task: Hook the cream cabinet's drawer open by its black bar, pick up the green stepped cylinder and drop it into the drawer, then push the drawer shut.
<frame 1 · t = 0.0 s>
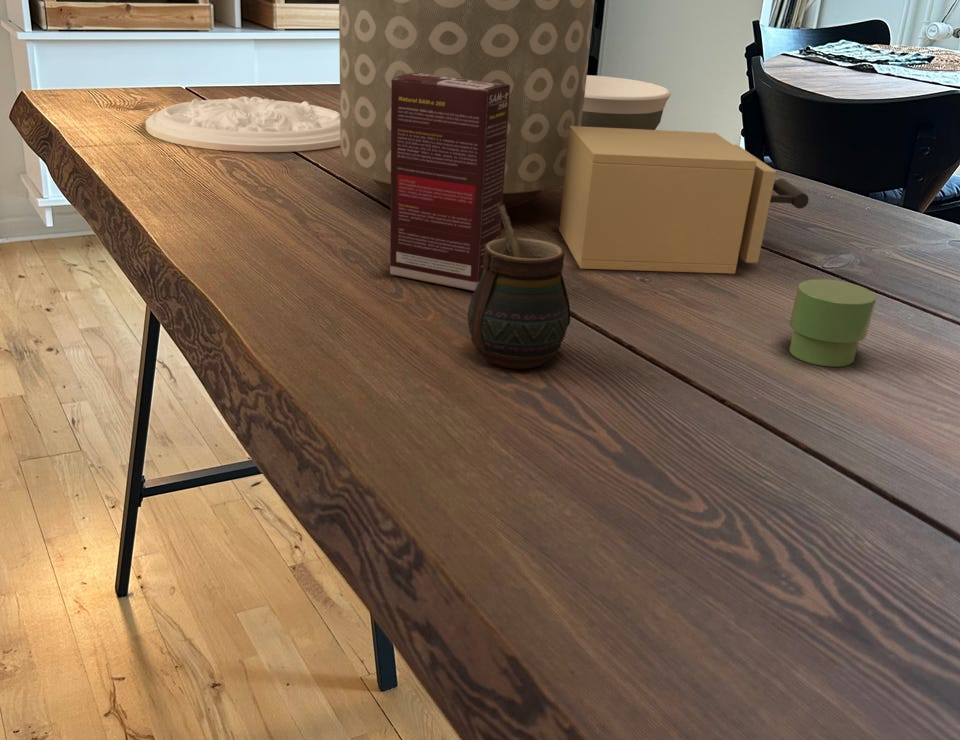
mate gourd: (512, 359, 74), on the table
bowl: (593, 151, 141), on the table
planter: (457, 204, 112), on the table
ceiling medallion: (254, 131, 139), on the table
supplement box: (443, 279, 89), on the table
green stepped cylinder: (821, 354, 78), on the table
cabinet: (643, 251, 100), on the table
drawer: (703, 200, 98), point 5 cm above the table, slide at 1.0 cm
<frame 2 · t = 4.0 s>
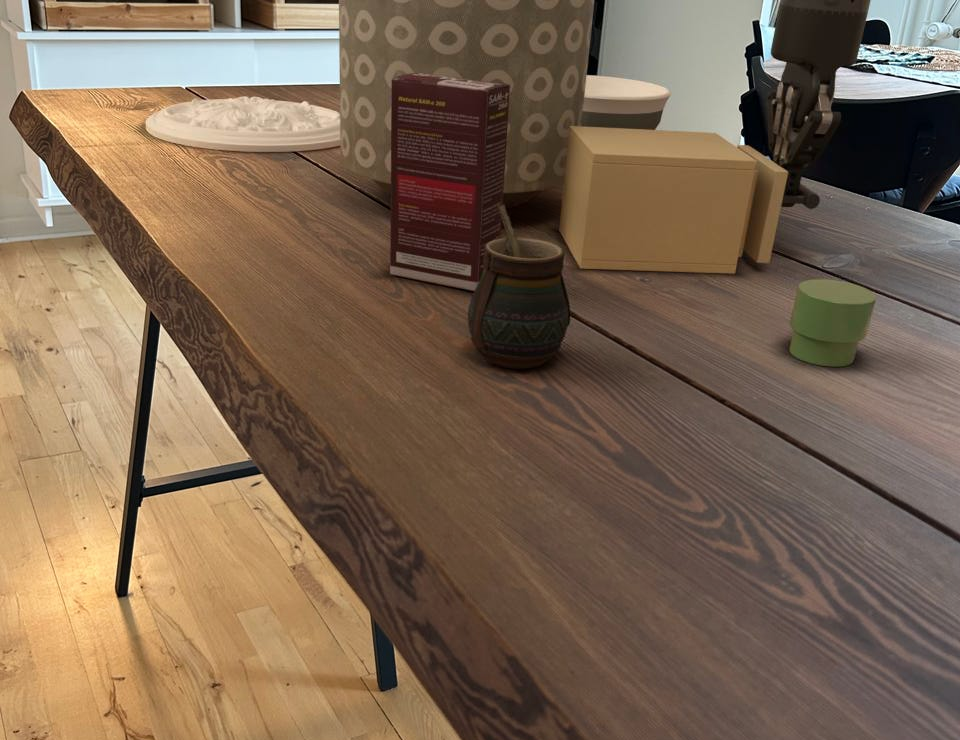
hand: (780, 204, 98), 5 cm above the table, tool pointing down, fingers closed
drawer: (714, 200, 98), point 5 cm above the table, slide at 2.1 cm, touching gripper
everything else where it was.
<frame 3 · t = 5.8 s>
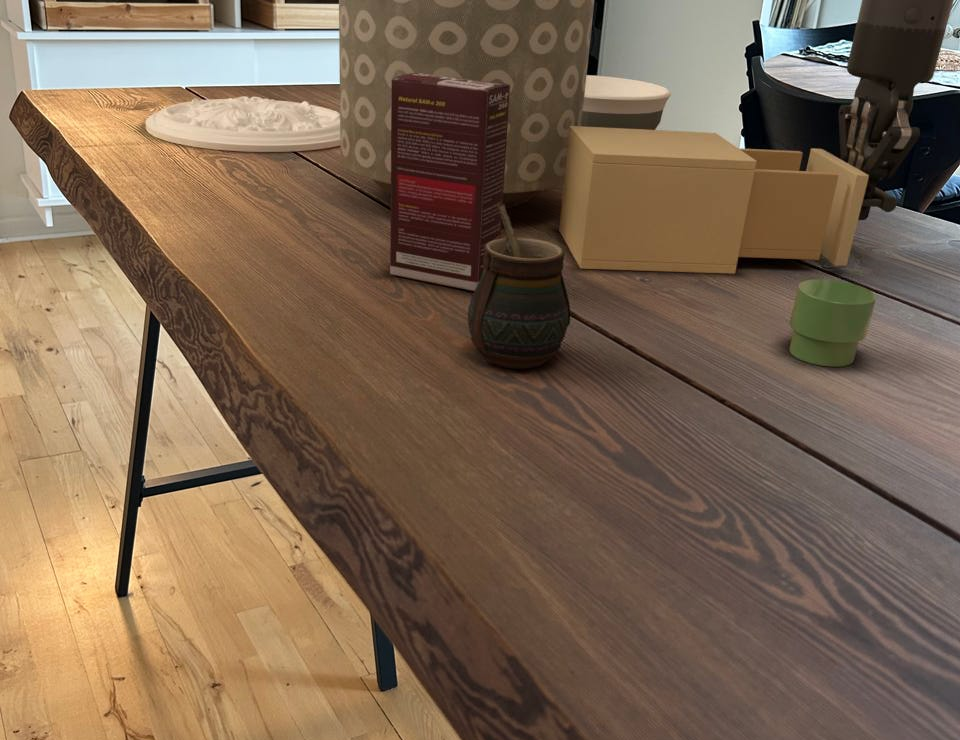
hand: (853, 217, 100), 4 cm above the table, tool pointing down, fingers closed
drawer: (790, 204, 99), point 5 cm above the table, slide at 9.6 cm
everything else where it was.
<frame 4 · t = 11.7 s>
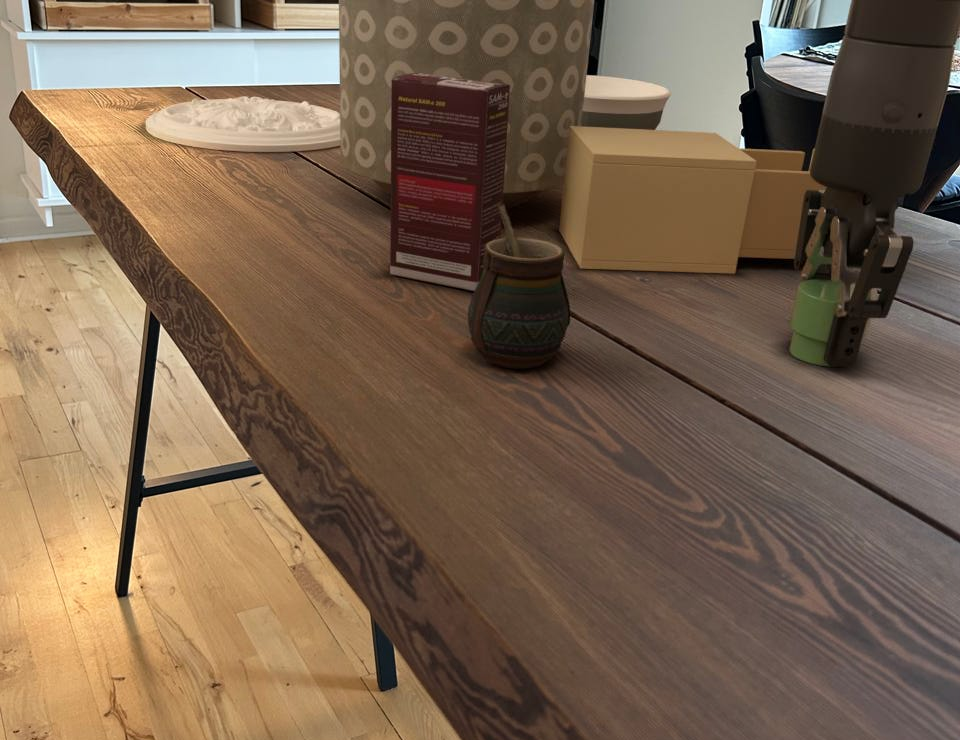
hand: (822, 347, 78), 1 cm above the table, tool pointing down, fingers closed on green stepped cylinder, 5 cm apart
green stepped cylinder: (821, 354, 78), on the table, touching gripper
everything else where it was.
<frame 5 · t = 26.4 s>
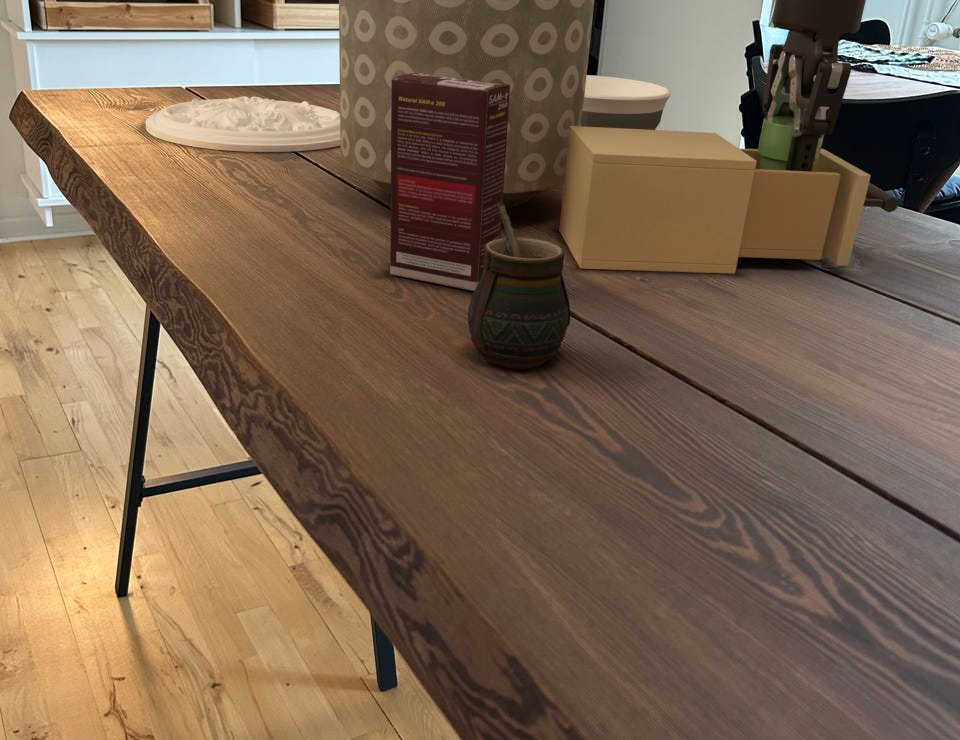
hand: (785, 171, 97), 8 cm above the table, tool pointing down, fingers closed on green stepped cylinder, 5 cm apart
green stepped cylinder: (783, 177, 97), point 7 cm above the table, touching gripper
everything else where it was.
when the fingers open (10 cm above the table, at t = 33.1 s): green stepped cylinder drops 8 cm, resting on drawer.
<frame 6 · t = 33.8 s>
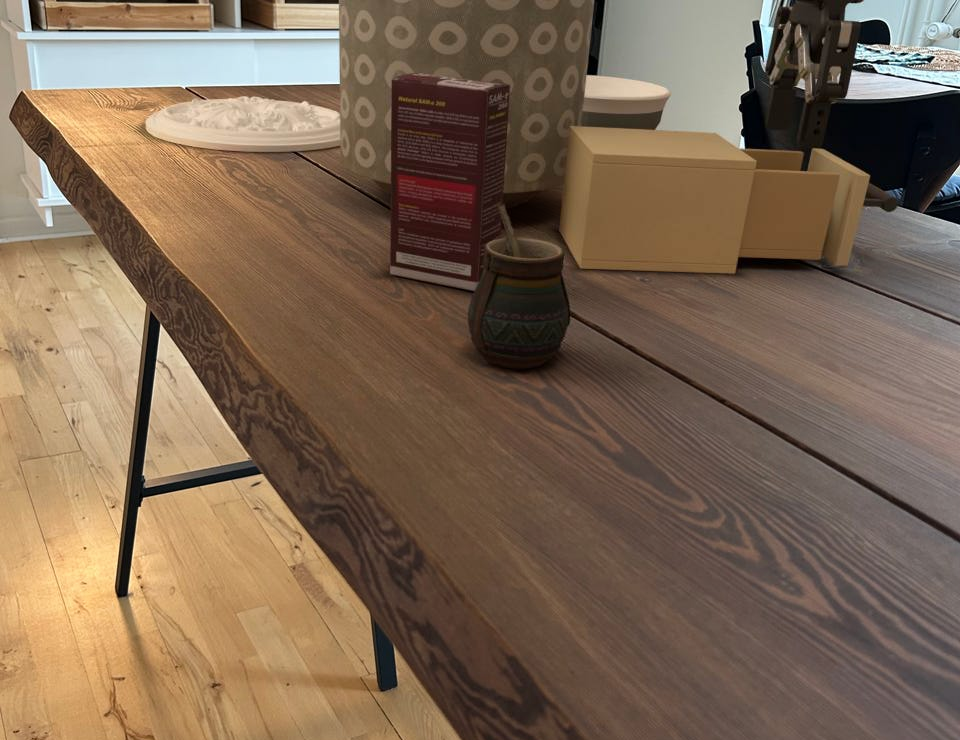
hand: (791, 137, 95), 11 cm above the table, tool pointing down, fingers open, 8 cm apart
green stepped cylinder: (771, 235, 100), point 2 cm above the table, touching drawer
drawer: (791, 204, 99), point 5 cm above the table, slide at 9.8 cm, touching green stepped cylinder
everything else where it was.
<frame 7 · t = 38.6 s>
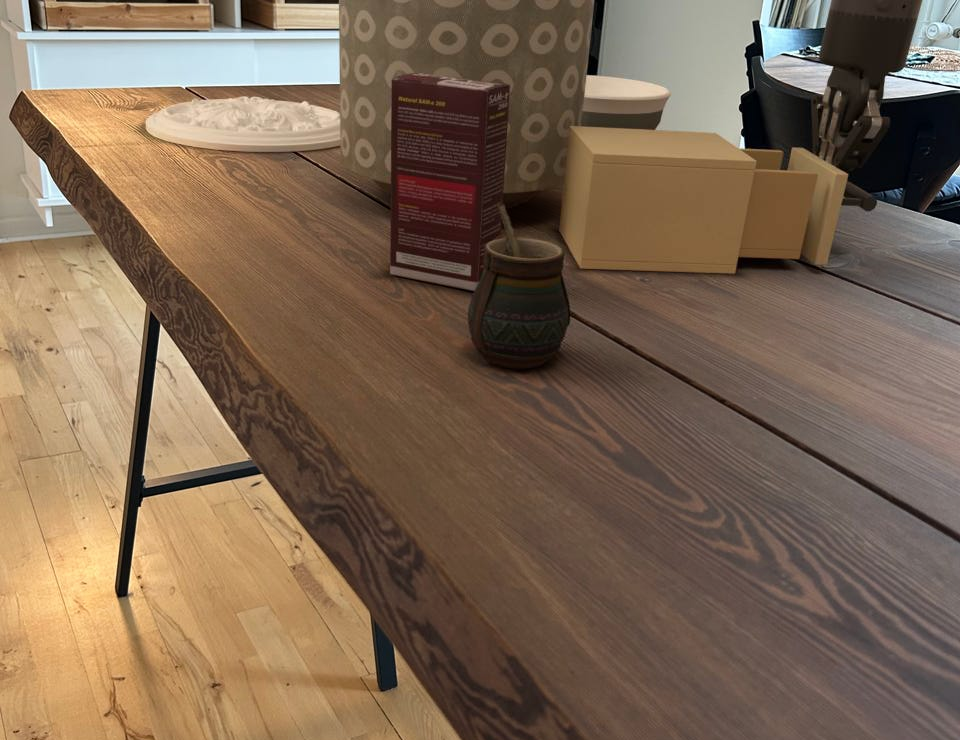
hand: (824, 208, 99), 5 cm above the table, tool pointing down, fingers closed
green stepped cylinder: (751, 235, 100), point 2 cm above the table, touching drawer
drawer: (770, 203, 98), point 5 cm above the table, slide at 7.7 cm, touching gripper, hand, green stepped cylinder
everything else where it was.
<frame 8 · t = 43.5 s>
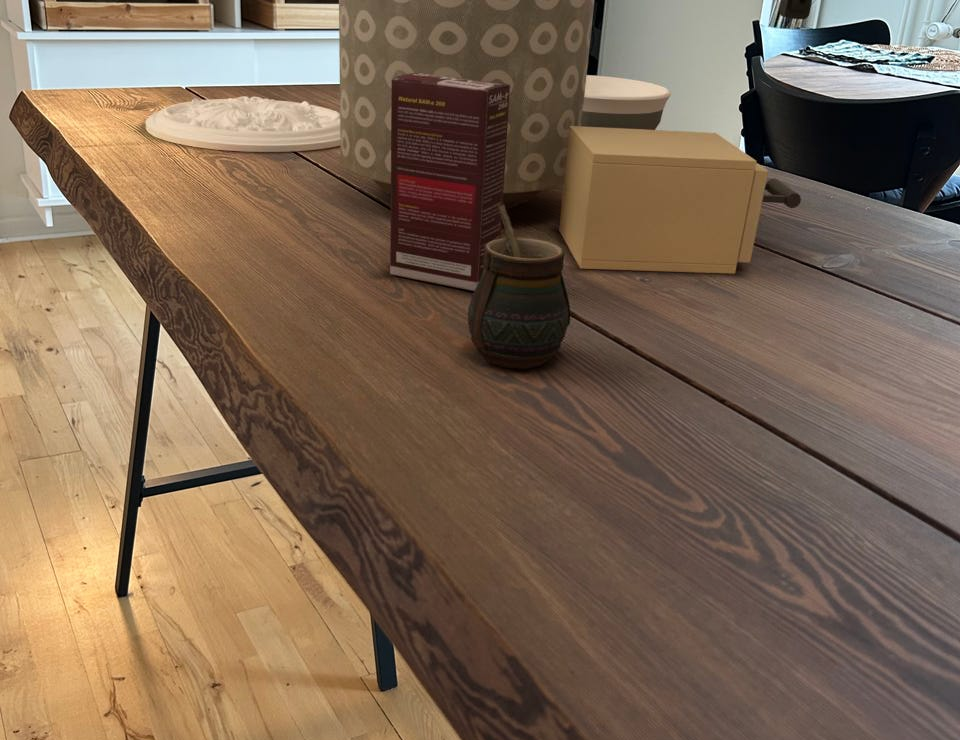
hand: (793, 17, 90), 21 cm above the table, tool pointing down, fingers closed
green stepped cylinder: (676, 232, 99), point 2 cm above the table, touching drawer
drawer: (695, 200, 98), point 5 cm above the table, slide at 0.3 cm, touching green stepped cylinder
everything else where it was.
at the end: drawer pulled out 9.9 cm at the most during the clip, back to 0.3 cm at the end; green stepped cylinder inside the target area in the cabinet (3.0 cm from its centre), point 2.0 cm above the cabinet's base; drawer slide at 0.3 cm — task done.
